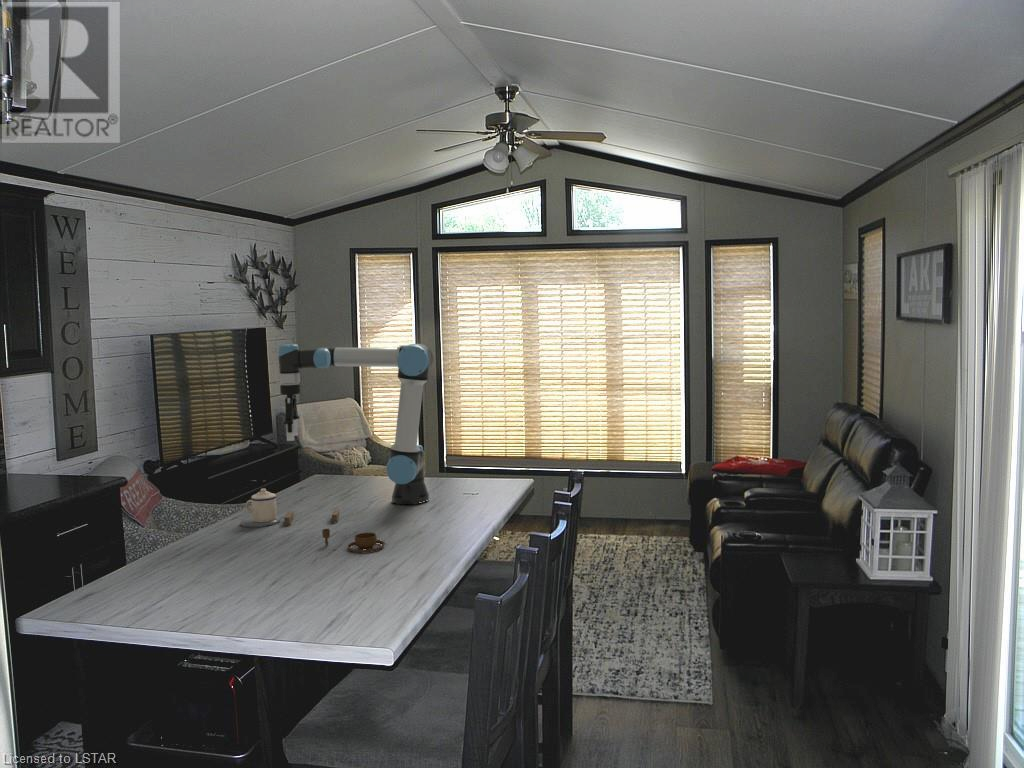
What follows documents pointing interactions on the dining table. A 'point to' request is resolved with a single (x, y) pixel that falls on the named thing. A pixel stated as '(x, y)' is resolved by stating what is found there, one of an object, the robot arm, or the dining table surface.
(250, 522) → the grey flat disc
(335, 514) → the walnut cradle
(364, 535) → the place setting
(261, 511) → the teacup with lid
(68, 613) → the dining table surface
